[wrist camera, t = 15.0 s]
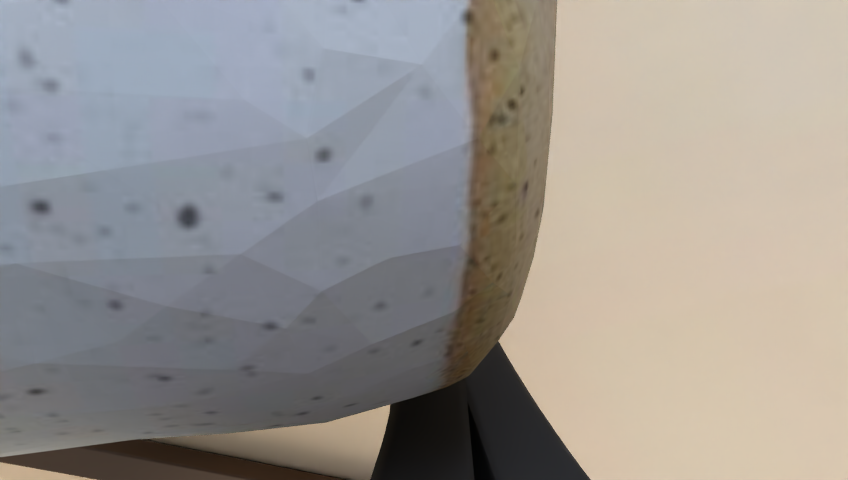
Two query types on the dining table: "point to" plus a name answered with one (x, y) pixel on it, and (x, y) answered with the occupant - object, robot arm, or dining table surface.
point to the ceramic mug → (259, 207)
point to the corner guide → (153, 463)
